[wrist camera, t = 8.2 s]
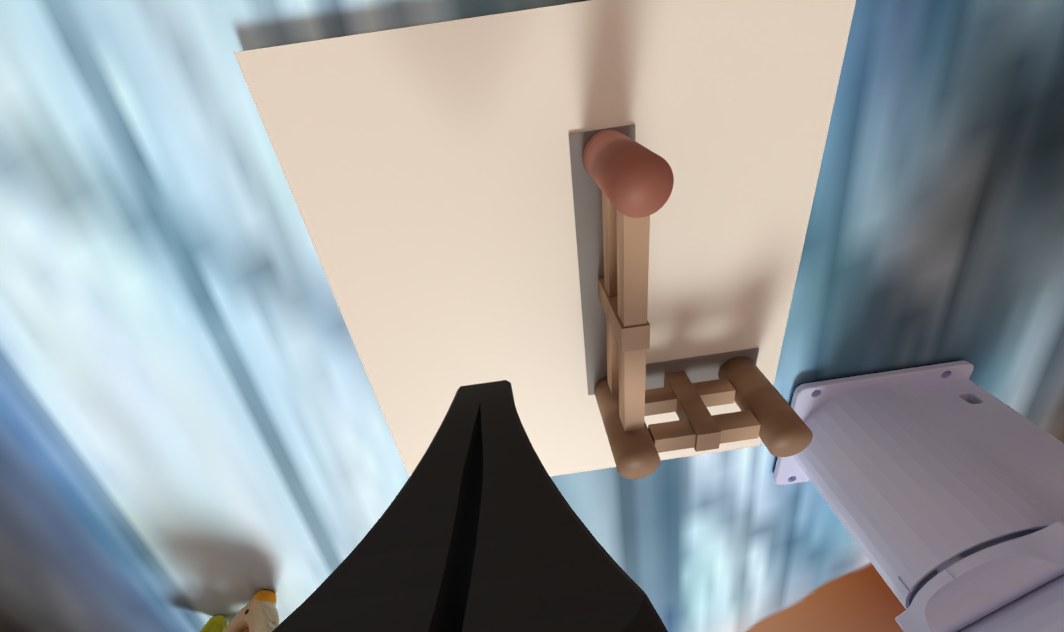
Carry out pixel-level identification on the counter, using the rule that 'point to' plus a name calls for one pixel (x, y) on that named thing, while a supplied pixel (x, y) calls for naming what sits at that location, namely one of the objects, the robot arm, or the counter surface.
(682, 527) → the counter surface
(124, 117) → the counter surface
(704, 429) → the frame
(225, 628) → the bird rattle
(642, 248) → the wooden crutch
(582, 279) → the card
